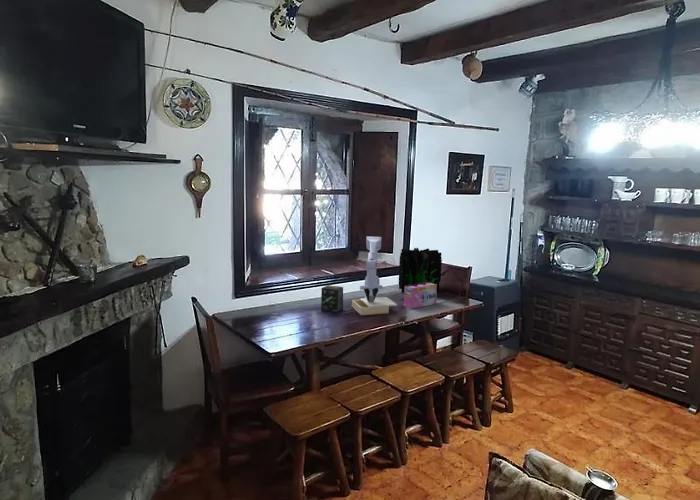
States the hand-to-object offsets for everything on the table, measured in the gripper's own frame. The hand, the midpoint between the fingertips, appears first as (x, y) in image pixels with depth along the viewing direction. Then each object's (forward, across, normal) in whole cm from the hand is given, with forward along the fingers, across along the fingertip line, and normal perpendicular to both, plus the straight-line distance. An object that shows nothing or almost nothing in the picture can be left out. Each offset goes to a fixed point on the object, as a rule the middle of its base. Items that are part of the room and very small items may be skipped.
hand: (370, 300), depth 292 cm
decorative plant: (+7, +52, +39) cm, 66 cm away
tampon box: (+7, -23, +6) cm, 25 cm away
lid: (+2, +5, 0) cm, 5 cm away
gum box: (+7, +36, +4) cm, 37 cm away
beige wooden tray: (+6, 0, 0) cm, 6 cm away
